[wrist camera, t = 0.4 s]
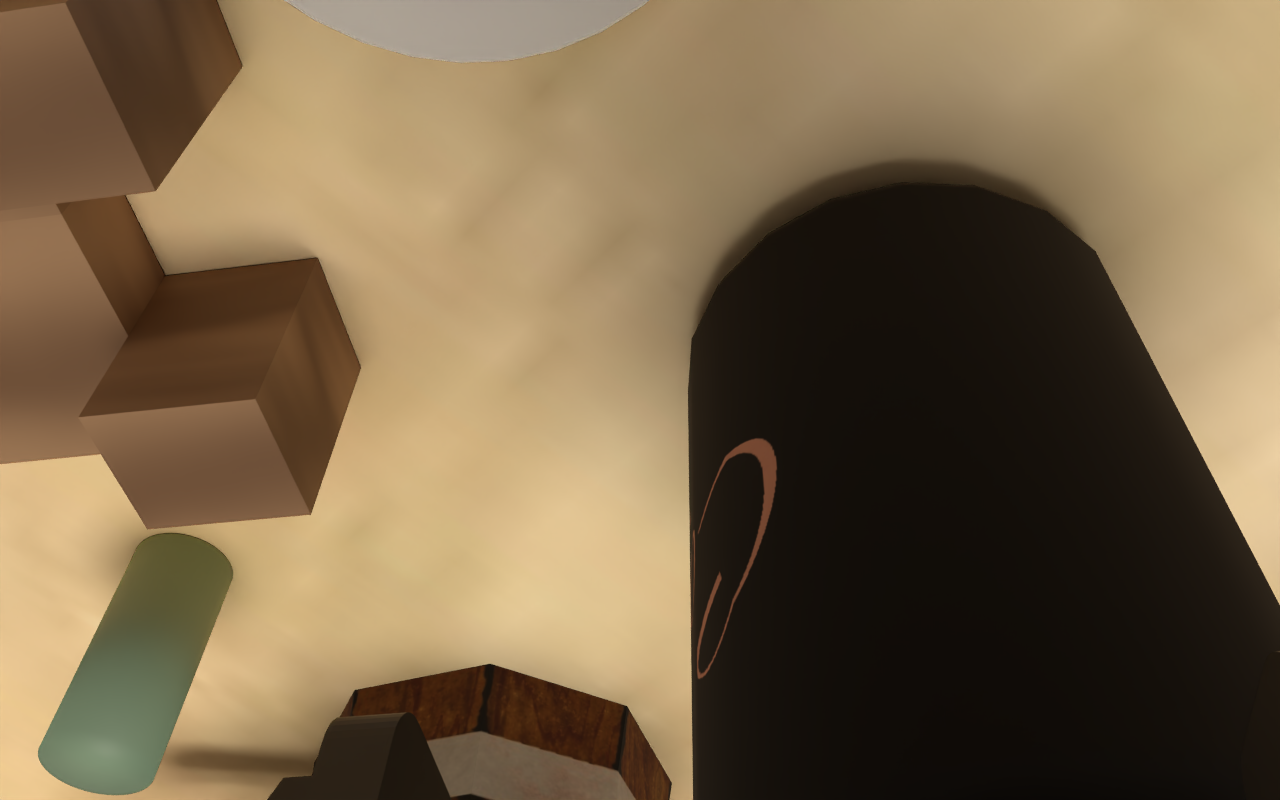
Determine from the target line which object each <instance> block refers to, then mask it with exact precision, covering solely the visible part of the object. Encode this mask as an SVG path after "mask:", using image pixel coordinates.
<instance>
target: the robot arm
mask: <svg viewBox="0 0 1280 800" xmlns="http://www.w3.org/2000/svg"><path fill="white" fill-rule="evenodd" d="M1241 772H1242V781H1243V787H1244V792H1245V796H1246V800H1280V651H1275V652H1271V653H1270V654H1269V655H1268V656H1267V658H1266V660H1265V663H1264V666H1263V670H1262V674H1261V677H1260V681H1259V685H1258V689H1257V693H1256V697H1255V701H1254V705H1253V709H1252V713H1251V717H1250V721H1249V725H1248V728H1247V732H1246V736H1245V740H1244V744H1243V748H1242V754H1241ZM267 800H451V797H450V795H449V792H448V790H447V788H446V785H445V783H444V781H443V778H442V776H441V774H440V771H439V769H438V767H437V764H436V762H435V760H434V757H433V755H432V753H431V750H430V748H429V746H428V743H427V741H426V739H425V736H424V734H423V732H422V729H421V727H420V725H419V723H418V721H417V719H416V717H415V716H414V715H413V714H412V713H409V712H405V713H392V714H378V715H365V716H351V717H339V718H336V719H335V720H334V721H332V723H331V724H330V725H329V727H328V729H327V731H326V733H325V736H324V738H323V742H322V745H321V748H320V751H319V755H318V758H317V761H316V764H315V767H314V771H313V774H312V776H304V777H289V778H283V779H282V781H281V782H280V783H279V785H278V786H277V787H276V789H275V790H274V791H273V793H272V794H271V795H270V797H269V798H268V799H267Z"/></svg>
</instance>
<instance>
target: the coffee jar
mask: <svg viewBox="0 0 1280 800" xmlns="http://www.w3.org/2000/svg"><path fill="white" fill-rule="evenodd" d="M688 426H689V505H690V584H691V663H692V742H693V800H1246V796H1245V792H1244V787H1243V781H1242V772H1241V754H1242V748H1243V744H1244V740H1245V736H1246V732H1247V728H1248V725H1249V721H1250V717H1251V713H1252V709H1253V705H1254V701H1255V697H1256V693H1257V689H1258V685H1259V681H1260V677H1261V674H1262V670H1263V666H1264V663H1265V660H1266V658H1267V656H1268V655H1269V654H1270V653H1271V652H1275V651H1280V605H1279V603H1278V601H1277V599H1276V597H1275V595H1274V593H1273V591H1272V590H1271V588H1270V586H1269V584H1268V582H1267V580H1266V578H1265V576H1264V574H1263V572H1262V570H1261V568H1260V567H1259V565H1258V563H1257V561H1256V559H1255V557H1254V555H1253V553H1252V551H1251V549H1250V547H1249V545H1248V543H1247V542H1246V540H1245V538H1244V536H1243V534H1242V532H1241V530H1240V528H1239V526H1238V524H1237V522H1236V520H1235V518H1234V517H1233V515H1232V513H1231V511H1230V509H1229V507H1228V505H1227V503H1226V501H1225V499H1224V497H1223V495H1222V494H1221V492H1220V490H1219V488H1218V486H1217V484H1216V482H1215V480H1214V478H1213V476H1212V474H1211V472H1210V470H1209V469H1208V467H1207V465H1206V463H1205V461H1204V459H1203V457H1202V455H1201V453H1200V451H1199V449H1198V447H1197V445H1196V444H1195V442H1194V440H1193V438H1192V436H1191V434H1190V432H1189V430H1188V428H1187V426H1186V424H1185V422H1184V421H1183V419H1182V417H1181V415H1180V413H1179V411H1178V409H1177V407H1176V405H1175V403H1174V401H1173V399H1172V397H1171V396H1170V394H1169V392H1168V390H1167V388H1166V386H1165V384H1164V382H1163V380H1162V378H1161V376H1160V374H1159V372H1158V371H1157V369H1156V367H1155V365H1154V363H1153V361H1152V359H1151V357H1150V355H1149V353H1148V351H1147V349H1146V348H1145V346H1144V344H1143V342H1142V340H1141V338H1140V336H1139V334H1138V332H1137V330H1136V328H1135V326H1134V324H1133V323H1132V321H1131V319H1130V317H1129V315H1128V313H1127V311H1126V309H1125V307H1124V305H1123V303H1122V301H1121V300H1120V298H1119V296H1118V294H1117V292H1116V290H1115V288H1114V286H1113V284H1112V282H1111V280H1110V278H1109V276H1108V275H1107V273H1106V271H1105V269H1104V267H1103V265H1102V263H1101V261H1100V259H1099V257H1098V255H1097V253H1096V251H1094V250H1093V249H1092V248H1091V247H1090V246H1088V245H1087V244H1086V243H1085V242H1084V241H1082V240H1081V239H1080V238H1079V237H1077V236H1076V235H1075V234H1074V233H1073V232H1071V231H1070V230H1069V229H1068V228H1067V227H1065V226H1064V225H1063V224H1062V223H1061V222H1059V221H1058V220H1057V219H1056V218H1054V217H1053V216H1052V215H1051V214H1050V213H1048V212H1047V211H1045V210H1042V209H1040V208H1037V207H1035V206H1032V205H1029V204H1026V203H1023V202H1020V201H1017V200H1015V199H1012V198H1009V197H1006V196H1003V195H1000V194H997V193H994V192H992V191H989V190H986V189H983V188H980V187H977V186H974V185H950V184H923V183H899V184H894V185H890V186H886V187H882V188H877V189H873V190H869V191H865V192H861V193H856V194H852V195H848V196H844V197H840V198H835V199H832V200H829V201H827V202H825V203H824V204H822V205H820V206H818V207H816V208H814V209H813V210H811V211H809V212H807V213H805V214H803V215H802V216H800V217H798V218H796V219H794V220H792V221H791V222H789V223H787V224H785V225H783V226H782V227H780V228H778V229H776V230H774V231H772V232H771V233H769V234H768V235H767V236H766V237H765V238H764V239H763V240H762V241H761V242H760V243H759V244H758V245H757V246H756V247H755V248H754V249H753V250H752V251H751V252H750V253H749V254H748V255H747V256H746V257H745V258H744V259H743V260H742V261H741V262H740V263H739V264H738V265H737V266H736V267H735V268H734V269H733V270H732V271H731V272H730V273H729V274H728V275H727V276H726V277H725V278H724V279H723V280H722V281H721V283H720V284H719V285H718V287H717V289H716V291H715V293H714V295H713V297H712V299H711V301H710V303H709V305H708V307H707V309H706V311H705V313H704V315H703V318H702V320H701V322H700V324H699V326H698V328H697V330H696V332H695V334H694V336H693V338H692V344H691V358H690V372H689V386H688Z"/></svg>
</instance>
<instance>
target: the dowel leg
mask: <svg viewBox="0 0 1280 800" xmlns="http://www.w3.org/2000/svg"><path fill="white" fill-rule="evenodd" d="M232 577H233V571H232V567H231V565H230V563H229V561H228V560H227V558H226V557H225V556H224V555H223V554H222V553H221V552H220V551H219V550H218V549H216V548H215V547H214V546H212V545H210V544H209V543H207V542H205V541H203V540H200V539H198V538H195V537H192V536H188V535H183V534H174V533H167V534H158V535H154V536H151V537H149V538H147V539H145V540H144V541H142V542H141V543H140V544H139V545H138V547H137V549H136V551H135V553H134V555H133V557H132V559H131V561H130V563H129V565H128V567H127V569H126V571H125V573H124V575H123V577H122V579H121V581H120V584H119V586H118V588H117V590H116V592H115V594H114V596H113V598H112V600H111V602H110V604H109V606H108V608H107V610H106V612H105V614H104V616H103V618H102V620H101V622H100V624H99V626H98V628H97V630H96V633H95V635H94V637H93V639H92V641H91V643H90V645H89V647H88V649H87V651H86V653H85V655H84V657H83V659H82V661H81V663H80V665H79V667H78V669H77V671H76V673H75V675H74V677H73V679H72V682H71V684H70V686H69V688H68V690H67V692H66V694H65V696H64V698H63V700H62V702H61V704H60V706H59V708H58V710H57V712H56V714H55V716H54V718H53V720H52V722H51V724H50V726H49V729H48V731H47V733H46V735H45V737H44V739H43V741H42V743H41V745H40V747H39V750H38V757H39V760H40V762H41V764H42V765H43V767H44V768H45V769H46V770H47V771H48V772H49V773H50V774H51V775H53V776H54V777H56V778H57V779H59V780H60V781H62V782H64V783H66V784H68V785H70V786H73V787H75V788H78V789H81V790H84V791H88V792H92V793H98V794H105V795H126V794H132V793H136V792H139V791H142V790H144V789H145V788H147V787H148V786H149V785H150V784H151V783H152V782H153V780H154V777H155V775H156V772H157V770H158V767H159V765H160V762H161V760H162V757H163V754H164V752H165V749H166V747H167V744H168V742H169V739H170V737H171V734H172V731H173V729H174V726H175V724H176V721H177V719H178V716H179V714H180V711H181V709H182V706H183V703H184V701H185V698H186V696H187V693H188V691H189V688H190V686H191V683H192V680H193V678H194V675H195V673H196V670H197V668H198V665H199V663H200V660H201V657H202V655H203V652H204V650H205V647H206V645H207V642H208V640H209V637H210V635H211V632H212V629H213V627H214V624H215V622H216V619H217V617H218V614H219V612H220V609H221V606H222V604H223V601H224V599H225V596H226V594H227V591H228V589H229V586H230V584H231V581H232Z"/></svg>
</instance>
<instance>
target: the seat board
mask: <svg viewBox="0 0 1280 800" xmlns="http://www.w3.org/2000/svg"><path fill="white" fill-rule="evenodd" d="M241 68H242V65H241V62H240V60H239V57H238V54H237V52H236V49H235V47H234V44H233V42H232V39H231V37H230V34H229V32H228V29H227V26H226V24H225V21H224V19H223V16H222V14H221V11H220V9H219V6H218V3H217V1H216V0H0V464H6V463H16V462H26V461H36V460H47V459H57V458H67V457H77V456H87V455H97V454H101V455H102V457H103V458H104V460H105V462H106V463H107V465H108V466H109V468H110V470H111V471H112V473H113V474H114V476H115V478H116V479H117V481H118V482H119V484H120V486H121V487H122V489H123V491H124V492H125V494H126V495H127V497H128V499H129V500H130V502H131V503H132V505H133V507H134V508H135V510H136V512H137V513H138V515H139V516H140V518H141V520H142V521H143V523H144V524H145V526H146V528H147V529H156V528H167V527H178V526H189V525H200V524H212V523H223V522H234V521H245V520H256V519H267V518H278V517H289V516H300V515H311V513H312V510H313V507H314V504H315V501H316V498H317V495H318V492H319V489H320V486H321V483H322V480H323V477H324V474H325V471H326V469H327V466H328V463H329V460H330V457H331V454H332V451H333V448H334V445H335V442H336V439H337V436H338V433H339V430H340V428H341V425H342V422H343V419H344V416H345V413H346V410H347V407H348V404H349V401H350V398H351V395H352V392H353V389H354V386H355V384H356V381H357V378H358V375H359V372H360V369H361V368H360V365H359V363H358V360H357V357H356V355H355V352H354V350H353V347H352V345H351V342H350V340H349V337H348V335H347V332H346V329H345V327H344V324H343V322H342V319H341V317H340V314H339V312H338V309H337V307H336V304H335V301H334V299H333V296H332V294H331V291H330V289H329V286H328V284H327V281H326V279H325V276H324V273H323V271H322V268H321V266H320V263H319V261H318V258H315V259H307V260H298V261H290V262H281V263H272V264H264V265H255V266H247V267H238V268H230V269H221V270H213V271H204V272H195V273H187V274H178V275H170V276H165V275H164V273H163V271H162V269H161V267H160V265H159V263H158V261H157V259H156V257H155V255H154V253H153V251H152V249H151V247H150V245H149V243H148V241H147V239H146V237H145V235H144V233H143V231H142V229H141V227H140V225H139V223H138V221H137V219H136V217H135V215H134V213H133V211H132V209H131V207H130V205H129V203H128V201H127V199H126V197H125V195H129V194H137V193H145V192H153V191H156V190H157V188H158V187H159V186H160V184H161V183H162V181H163V180H164V178H165V177H166V176H167V174H168V173H169V171H170V170H171V168H172V167H173V166H174V164H175V163H176V161H177V160H178V158H179V157H180V156H181V154H182V153H183V151H184V150H185V148H186V147H187V145H188V144H189V143H190V141H191V140H192V138H193V137H194V135H195V134H196V133H197V131H198V130H199V128H200V127H201V125H202V124H203V123H204V121H205V120H206V118H207V117H208V115H209V114H210V112H211V111H212V110H213V108H214V107H215V105H216V104H217V102H218V101H219V100H220V98H221V97H222V95H223V94H224V92H225V91H226V90H227V88H228V87H229V85H230V84H231V82H232V81H233V79H234V78H235V77H236V75H237V74H238V72H239V71H240V69H241Z"/></svg>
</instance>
